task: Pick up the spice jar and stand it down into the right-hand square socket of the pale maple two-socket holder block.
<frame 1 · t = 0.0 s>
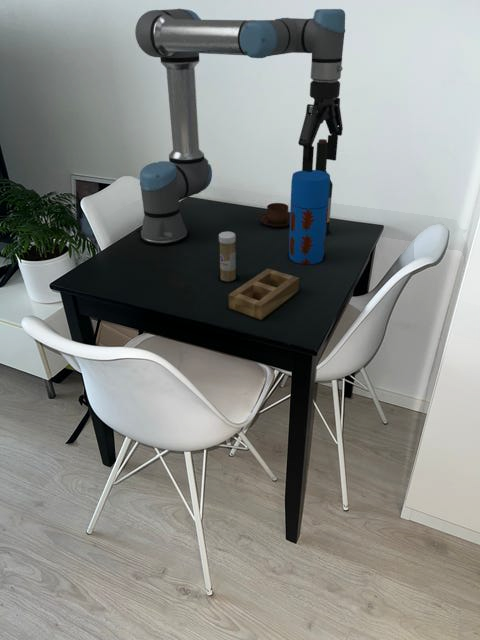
hand: (319, 165, 139), 28 cm above the table, tool pointing down, fingers open, 13 cm apart
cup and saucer: (277, 223, 179), on the table
spice jar: (228, 279, 144), on the table
wine bottle: (316, 232, 172), on the table
thermos: (306, 257, 155), on the table
holder: (264, 299, 134), on the table
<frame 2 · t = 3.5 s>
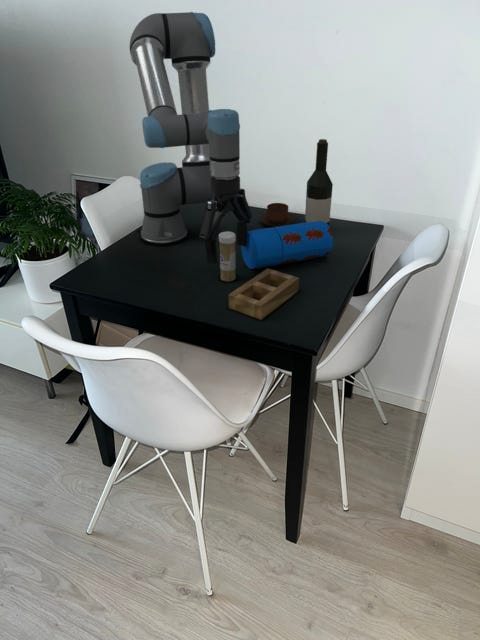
hand: (227, 253, 139), 8 cm above the table, tool pointing down, fingers open, 13 cm apart
thermos: (323, 238, 154), point 5 cm above the table, touching gripper
everything else where it was.
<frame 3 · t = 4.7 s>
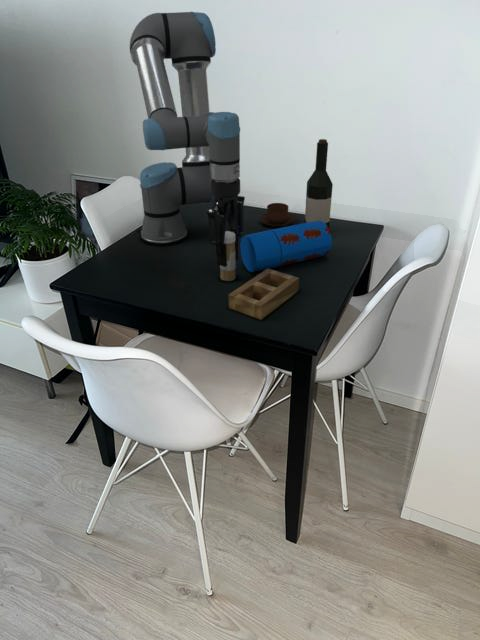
hand: (227, 261, 141), 5 cm above the table, tool pointing down, fingers closed on spice jar, 5 cm apart
spice jar: (228, 278, 144), on the table, touching gripper
thermos: (322, 237, 154), point 5 cm above the table
everything else where it was.
when the fingers open (5 cm above the table, at t = 10.2 s): spice jar stays where it is, resting in holder.
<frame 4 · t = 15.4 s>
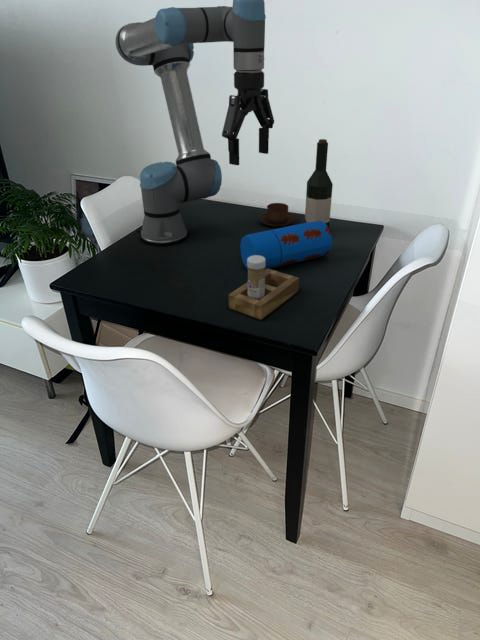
hand: (249, 158, 136), 31 cm above the table, tool pointing down, fingers open, 13 cm apart
spice jar: (256, 306, 131), resting in holder
everything else where it was.
at the end: spice jar 0.1 cm from the target spot in the holder, point 0.0 cm above the holder's base; spice jar tilted 0°; the gripper is holding nothing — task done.
